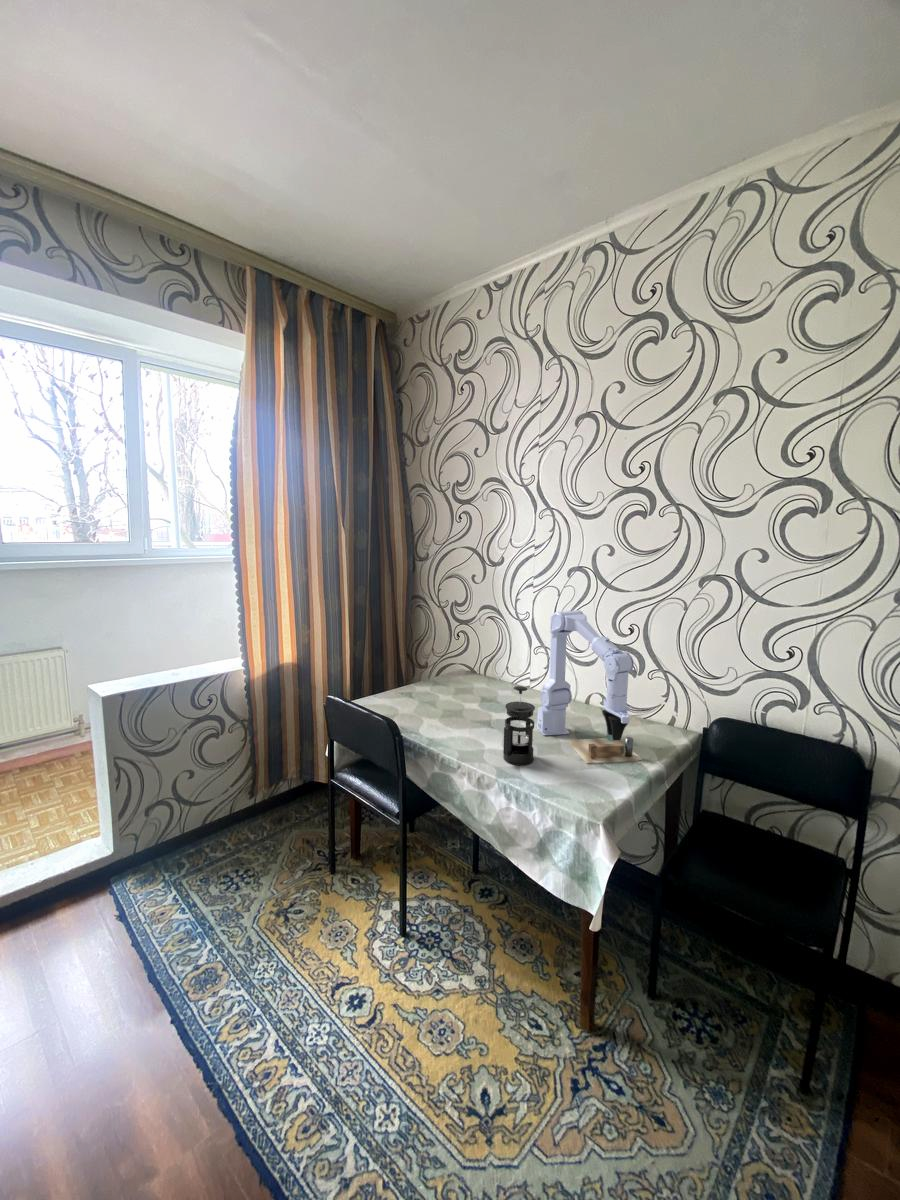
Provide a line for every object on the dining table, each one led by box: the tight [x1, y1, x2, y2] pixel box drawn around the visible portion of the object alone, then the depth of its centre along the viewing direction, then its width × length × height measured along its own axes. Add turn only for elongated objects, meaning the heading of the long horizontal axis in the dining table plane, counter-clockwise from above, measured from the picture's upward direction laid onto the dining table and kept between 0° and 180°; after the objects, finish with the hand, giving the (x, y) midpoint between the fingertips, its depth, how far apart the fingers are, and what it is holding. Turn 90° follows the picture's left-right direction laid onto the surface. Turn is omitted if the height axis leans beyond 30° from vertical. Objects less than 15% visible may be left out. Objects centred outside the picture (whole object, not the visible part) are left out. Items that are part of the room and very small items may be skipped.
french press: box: [502, 685, 536, 767], centre depth 150 cm, size 12×9×23 cm
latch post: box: [606, 730, 615, 741], centre depth 165 cm, size 2×2×4 cm
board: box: [566, 737, 643, 765], centre depth 158 cm, size 18×16×1 cm
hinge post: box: [624, 736, 634, 757], centre depth 153 cm, size 2×2×6 cm
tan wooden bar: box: [588, 743, 624, 758], centre depth 152 cm, size 11×2×4 cm, turn 98°
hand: (614, 737), depth 146 cm, fingers open, 3 cm apart
